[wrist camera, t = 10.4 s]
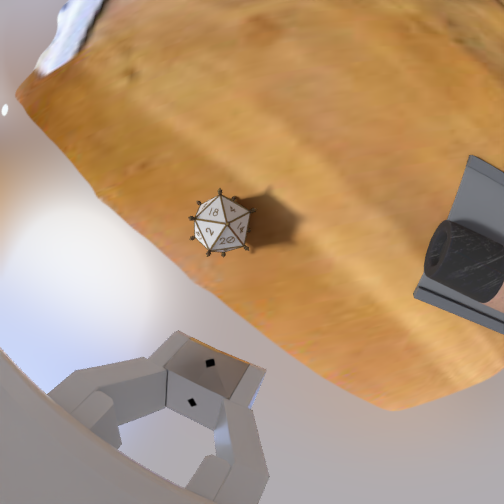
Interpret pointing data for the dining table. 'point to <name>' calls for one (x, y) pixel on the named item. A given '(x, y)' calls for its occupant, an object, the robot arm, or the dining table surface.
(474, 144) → the dining table surface
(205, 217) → the game die
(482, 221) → the tray
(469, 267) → the travel mug
